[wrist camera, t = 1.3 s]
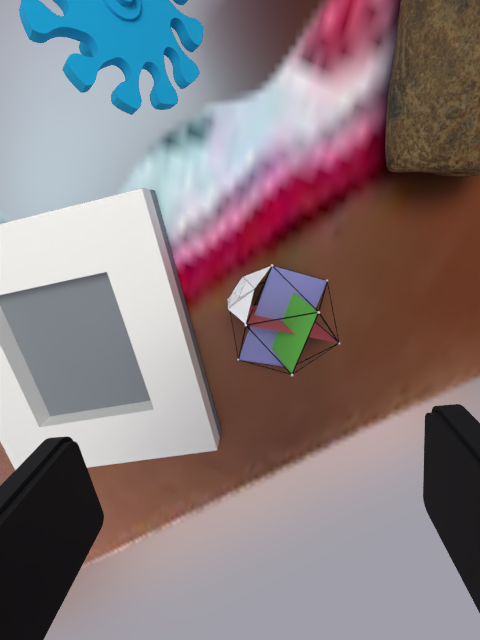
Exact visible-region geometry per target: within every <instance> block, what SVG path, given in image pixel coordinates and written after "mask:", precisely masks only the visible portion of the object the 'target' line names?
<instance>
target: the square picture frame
mask: <svg viewBox="0 0 480 640" xmlns="http://www.w3.org/2000/svg"><path fill="white" fill-rule="evenodd" d="M220 434H221V428H220V424H219V421H218V417H217V414H216V410H215V406H214V403H213V399H212V396H211V392H210V388H209V385H208V381H207V378H206V374H205V370H204V367H203V363H202V360H201V356H200V352H199V349H198V345H197V342H196V338H195V334H194V331H193V327H192V324H191V320H190V316H189V313H188V309H187V306H186V302H185V298H184V295H183V291H182V288H181V284H180V280H179V277H178V273H177V270H176V266H175V262H174V259H173V255H172V252H171V248H170V244H169V241H168V237H167V234H166V230H165V226H164V223H163V219H162V216H161V212H160V208H159V205H158V201H157V198H156V194H155V191H154V190H148V189H138V190H134V191H130V192H126V193H122V194H118V195H114V196H110V197H106V198H102V199H98V200H94V201H90V202H86V203H82V204H78V205H74V206H70V207H66V208H62V209H58V210H54V211H50V212H46V213H43V214H38V215H34V216H30V217H26V218H22V219H19V220H15V221H11V222H7V223H3V224H0V442H1V444H2V445H3V447H4V449H5V451H6V453H7V455H8V457H9V459H10V461H11V463H12V465H13V467H14V468H15V470H16V469H17V468H18V467H19V466H20V465H21V464H22V463H23V462H24V461H25V460H26V459H27V458H28V457H29V456H30V455H31V454H32V453H33V452H34V450H35V449H36V448H37V447H38V446H39V445H40V444H41V443H42V442H43V441H44V440H46V439H48V438H54V437H66V436H67V437H70V438H72V439H73V441H75V442H76V443H77V444H78V445H79V448H80V451H81V453H82V456H83V459H84V462H85V464H86V467H95V466H102V465H110V464H117V463H125V462H133V461H140V460H148V459H155V458H163V457H170V456H178V455H185V454H193V453H201V452H208V451H216V450H217V449H218V444H219V439H220Z"/></svg>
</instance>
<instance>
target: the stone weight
mask: <svg viewBox="0 0 480 640" xmlns="http://www.w3.org/2000/svg"><path fill="white" fill-rule="evenodd" d="M385 154H386V166H387V168H388V170H389V171H391V172H429V173H434V174H438V175H443V176H459V177H464V176H473V175H480V0H401V3H400V10H399V17H398V26H397V36H396V43H395V51H394V57H393V64H392V72H391V78H390V85H389V91H388V101H387V115H386V138H385Z"/></svg>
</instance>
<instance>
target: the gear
mask: <svg viewBox="0 0 480 640" xmlns="http://www.w3.org/2000/svg"><path fill="white" fill-rule="evenodd" d="M53 1H54V2H55V3H56V4H57V5H58V6H59V7H60V8H61V10H62V11H63V13H64V16H58V15H56V14H54V13H53V12H51V10H50V9H48V8H47V7H46V6H45V5H44V4H43V3H42V2H40V1H39V0H21V5H20V9H19V11H20V18H21V21H22V24H23V27H24V29H25V31H26V33H27V35H28V37H29V39H30V40H32V41H34V42H37V43H44V42H46V41H47V40H49V39H51V38H54V37H68V38H72V39H75V40H78V41H80V45H79V49H80V52H81V54H82V55H81V54H71V55H70V56H69V57H68V59H67V61H66V63H65V65H64V67H63V71H64V73H65V75H66V76H67V78H68V79H69V80H70V82H71V83H72V84H73V85H74V86H75V87H76V88H77V89H78V90H79V91H80V92H86V91H88V90H89V89H90V88H91V86H92V85H93V83H94V82H95V80H96V75H97V72H98V71H99V70H100V69H102V68H104V67H107V66H110V65H115V66H117V67H119V68H120V69H121V70H122V72H123V73H124V75H125V79H126V81H125V82H122V83H120V84H119V85H118V86H117V88H116V89H115V90H114V91H113V93H112V95H111V101H112V104H114V105H115V106H116V107H117V108H119V109H120V110H122V111H124V112H127V113H129V114H131V115H132V114H133V113H134V112H135V111H137V110H138V109H139V108H140V106H141V96H140V92H139V74H140V72H141V69H145V70H147V71H149V72H150V74H151V75H152V77H153V79H154V87H153V89H152V91H151V94H150V100H151V104H152V106H153V107H154V108H155V109H160V110H164V109H170V108H171V107H173V106H174V105H175V104H177V101H178V98H177V93H176V91H175V89H174V88H173V86H172V85H171V83H170V81H169V79H168V76H167V74H166V70H165V65H164V55H166V56H167V57H169V59H170V60H171V62H172V65H173V74H174V79H175V82H176V83H177V85H178V86H179V87H180V88H181V89H183V88H185V87H187V86H188V85H189V84H191V82H193V81H194V80H195V79H196V78H197V77H198V75H199V69H198V67H197V65H196V64H195V63H194V62H193V61H192V60H191V59H189V58H188V57H187V56H186V55H185V54H184V52H183V51H182V50H181V48H180V46H179V45H178V43H177V41H176V39H175V37H174V35H173V32H172V30H171V27H172V28H174V29H175V31H176V32H177V34H178V36H179V38H180V40H181V43H182V45H183V46H184V47H185V48H186V49H187V50H188V51H190V52H193V51H194V50H195V49H196V48H197V47H198V46H199V45H200V44H201V42H202V37H203V26H202V25H201V23H200V22H199V21H198V20H197V19H195V18H190V17H187V16H185V15H184V14H182V13H181V12H180V11H178V10H177V9H176V8H175V7H174V6H173V4H172V3H171V2H170V1H169V0H53ZM173 1H175V2H176V3H177V4H179V5H184V4H185V3H186V2H187V0H173Z"/></svg>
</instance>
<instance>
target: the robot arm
mask: <svg viewBox="0 0 480 640" xmlns="http://www.w3.org/2000/svg"><path fill="white" fill-rule="evenodd" d="M423 489H424V490H423V498H424V504H425V507H426V510H427V513H428V515H429V516H430V519H431V521H432V522H433V524H434V526H435V528H436V530H437V532H438V534H439V536H440V538H441V540H442V542H443V544H444V545H445V547H446V549H447V551H448V553H449V555H450V557H451V559H452V561H453V563H454V565H455V566H456V568H457V570H458V572H459V574H460V576H461V578H462V580H463V582H464V584H465V586H466V587H467V589H468V591H469V593H470V595H471V597H472V599H473V601H474V603H475V605H476V607H477V609H478V610H479V613H480V423H479V422H478V421H477V420H476V419H475V418H474V417H473V416H472V415H471V414H470V413H469V412H468V411H467V410H466V409H465V408H464V407H463V406H461V405H459V404H456V405H444V406H435V407H433V409H432V413H427V414H426V416H425V444H424V487H423ZM103 519H104V514H103V511H102V508H101V505H100V503H99V500H98V497H97V494H96V492H95V489H94V486H93V483H92V481H91V478H90V475H89V473H88V470H87V467H86V464H85V462H84V459H83V456H82V453H81V451H80V448H79V445H78V444H77V443H76V442H75V441H73V439H72V438H70V437H67V436H66V437H54V438H48V439H46V440H44V441H43V442H42V443H41V444H40V445H39V446H38V447H37V448H36V449H35V450H34V452H33V453H32V454H31V455H30V456H29V457H28V458H27V459H26V460H25V461H24V462H23V463H22V464H21V465H20V466H19V467H18V468H17V469H16V470H15V471H14V472H13V473H12V474H11V476H10V477H9V478H8V479H7V480H6V481H5V482H4V483H3V484H2V485H1V486H0V640H43V639H44V637H45V635H46V634H47V631H48V630H49V628H50V626H51V624H52V622H53V620H54V618H55V616H56V614H57V612H58V610H59V609H60V606H61V605H62V603H63V601H64V599H65V597H66V595H67V593H68V591H69V589H70V587H71V585H72V583H73V582H74V580H75V578H76V576H77V574H78V572H79V570H80V568H81V566H82V564H83V562H84V560H85V558H86V557H87V555H88V553H89V551H90V549H91V547H92V545H93V543H94V541H95V539H96V537H97V535H98V533H99V531H100V530H101V527H102V525H103Z"/></svg>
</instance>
